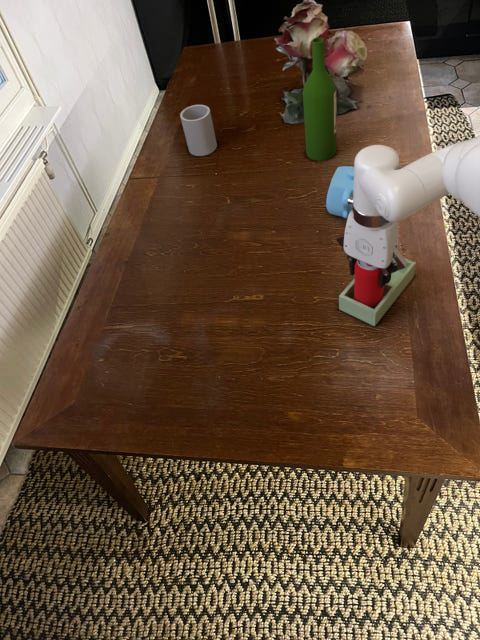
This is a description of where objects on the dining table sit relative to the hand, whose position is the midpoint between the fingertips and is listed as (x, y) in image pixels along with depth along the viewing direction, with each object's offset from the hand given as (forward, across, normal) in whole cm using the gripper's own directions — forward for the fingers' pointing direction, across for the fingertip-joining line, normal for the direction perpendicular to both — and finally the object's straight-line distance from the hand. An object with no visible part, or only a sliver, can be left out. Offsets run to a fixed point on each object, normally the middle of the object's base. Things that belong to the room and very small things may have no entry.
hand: (369, 276), depth 112 cm
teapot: (+9, -21, +28) cm, 36 cm away
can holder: (+9, 0, +4) cm, 10 cm away
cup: (+9, -77, +29) cm, 83 cm away
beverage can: (+7, 0, 0) cm, 7 cm away
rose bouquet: (+9, -60, +69) cm, 92 cm away
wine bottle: (+9, -42, +44) cm, 62 cm away
